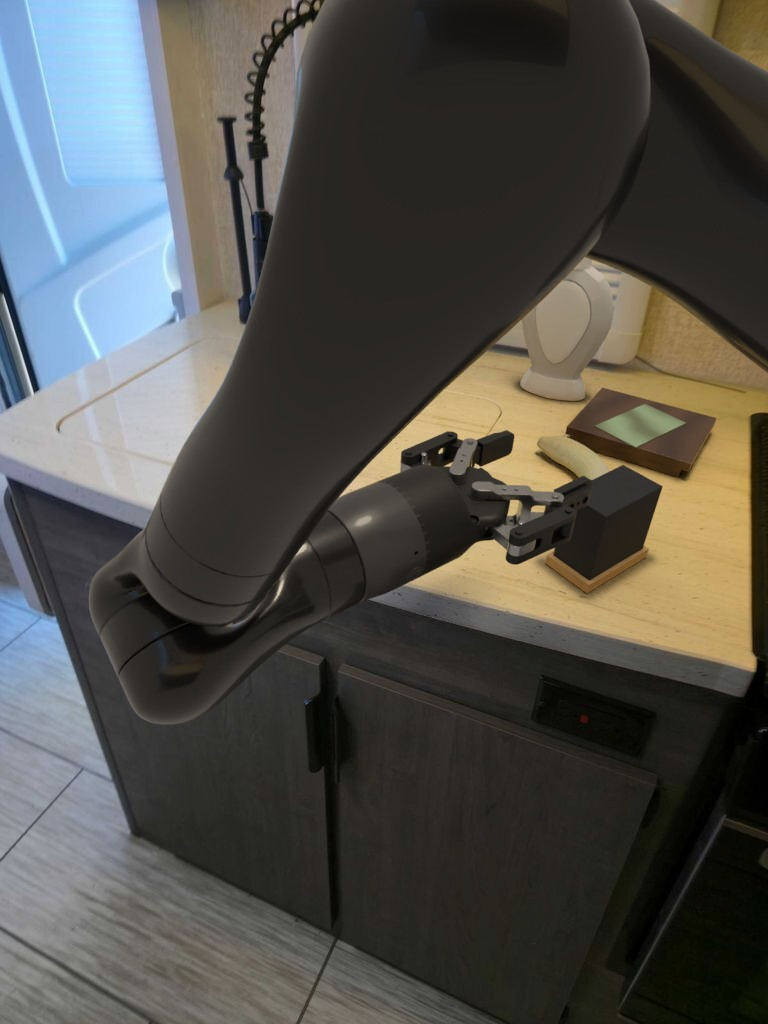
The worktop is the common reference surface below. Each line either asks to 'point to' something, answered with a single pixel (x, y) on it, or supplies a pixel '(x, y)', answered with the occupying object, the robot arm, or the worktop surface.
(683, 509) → the worktop surface
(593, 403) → the wooden base
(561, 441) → the fruit
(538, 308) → the soap bottle
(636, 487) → the matte black box
